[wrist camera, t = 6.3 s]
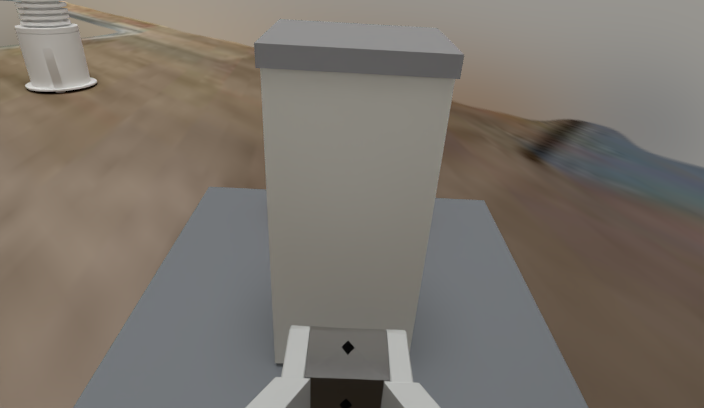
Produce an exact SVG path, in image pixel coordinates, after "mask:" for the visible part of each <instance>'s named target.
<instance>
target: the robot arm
mask: <svg viewBox="0 0 704 408" xmlns="http://www.w3.org/2000/svg"><path fill="white" fill-rule="evenodd" d="M245 408H440V406H439V405H438V404H437V403H436V402H435V401H434V399H433V398H432V397H431V396H430V395H429V394H428V393H427V391H426V390H425V389H424V388H423V387H422V386H421V384H420V383H414V382H413V376H412V369H411V362H410V354H409V347H408V339H407V333H406V331H405V330H388V329H386V330H385V329H358V328H348V329H347V328H332V327H317V326H297V325H291V327H290V330H289V335H288V340H287V346H286V352H285V357H284V363H283V369H282V374H281V377H275V378H274V379H273V380H272V381H271V382H270V383H269V384H268V385H267V386H266V387H265V388H264V389H263V390H262V391H261V392H260V393H259V394H258V395H257V396H256V397H255V398H254V399H253V400H252V401H251V402H250V403H249V404H248V405H247V406H246V407H245Z"/></svg>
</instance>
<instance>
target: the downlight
mask: <svg viewBox="0 0 704 408" xmlns="http://www.w3.org/2000/svg"><path fill="white" fill-rule="evenodd" d="M16 1H22V2H16V3H15V6H17V7H23V8H18V9H16V10H17V12H18V13H25V14H20V15H18V17H19V19H26V20H21V21H20V24H21V25H16V26H14V27H15V30H16V34H17V37H18V40H19V44H20V47H21V51H22V54H23V57H24V61H25V64H26V67H27V71H28V74H29V77H30V81H31V82H29V83H27V84H26V85H25V86H26V88H27V89H29V90H33V91H44V92H53V91H56V93H64V92H65V91H68V90H76V89H81V88H86V87H90V86H92V85H95V84H96V83H97V80H96V79H94V78H91V77H90V75H89V71H88V67H87V63H86V58H85V54H84V50H83V46H82V41H81V37H80V33H79V29H78V25H77V24H72V23H71V22H70V20H68V19H66V18H69V14H65V12H68V9H67V8H60V7H64V6H67V5H66V3H65V2H59V1H63V0H16Z"/></svg>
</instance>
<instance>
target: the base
mask: <svg viewBox="0 0 704 408" xmlns="http://www.w3.org/2000/svg"><path fill="white" fill-rule="evenodd" d="M409 354H410V362H411V369H412V376H413V382H414V383H420V384H421V386H422V387H423V388H424V389H425V390H426V391H427V393H428V394H429V395H430V396H431V397H432V398H433V399H434V401H435V402H436V403H437V404H438V405H439V406H440V408H588V406H587V404H586V402H585V400H584V398H583V396H582V394H581V392H580V390H579V388H578V386H577V384H576V382H575V380H574V378H573V376H572V374H571V372H570V370H569V368H568V366H567V364H566V362H565V360H564V358H563V356H562V354H561V352H560V350H559V348H558V346H557V344H556V342H555V340H554V338H553V336H552V334H551V333H550V331H549V329H548V327H547V325H546V323H545V321H544V319H543V317H542V315H541V313H540V311H539V309H538V307H537V305H536V303H535V301H534V299H533V297H532V295H531V293H530V291H529V289H528V287H527V285H526V283H525V281H524V279H523V277H522V275H521V273H520V271H519V269H518V267H517V265H516V263H515V261H514V259H513V257H512V255H511V253H510V251H509V249H508V247H507V245H506V243H505V241H504V239H503V237H502V235H501V233H500V231H499V229H498V227H497V225H496V223H495V221H494V219H493V217H492V215H491V213H490V212H489V210H488V208H487V206H486V204H485V202H484V200H464V199H444V198H435V202H434V208H433V214H432V220H431V226H430V232H429V238H428V244H427V250H426V256H425V262H424V268H423V274H422V280H421V286H420V292H419V298H418V304H417V310H416V316H415V322H414V328H413V334H412V340H411V346H410V352H409ZM282 369H283V363H275V351H274V331H273V311H272V291H271V271H270V251H269V231H268V211H267V191H266V190H263V189H243V188H223V187H209V188H208V190H207V191H206V193H205V195H204V196H203V198H202V199H201V201H200V203H199V204H198V206H197V208H196V209H195V211H194V212H193V214H192V216H191V217H190V219H189V221H188V222H187V224H186V225H185V227H184V229H183V230H182V232H181V234H180V235H179V237H178V238H177V240H176V242H175V243H174V245H173V247H172V248H171V250H170V251H169V253H168V255H167V256H166V258H165V260H164V261H163V263H162V264H161V266H160V268H159V269H158V271H157V272H156V274H155V276H154V277H153V279H152V281H151V282H150V284H149V285H148V287H147V289H146V290H145V292H144V294H143V295H142V297H141V298H140V300H139V302H138V303H137V305H136V307H135V308H134V310H133V311H132V313H131V315H130V316H129V318H128V320H127V321H126V323H125V324H124V326H123V328H122V329H121V331H120V333H119V334H118V336H117V337H116V339H115V341H114V342H113V344H112V346H111V347H110V349H109V350H108V352H107V354H106V355H105V357H104V359H103V360H102V362H101V363H100V365H99V367H98V368H97V370H96V372H95V373H94V375H93V376H92V378H91V380H90V381H89V383H88V385H87V386H86V388H85V389H84V391H83V393H82V394H81V396H80V398H79V399H78V401H77V402H76V404H75V406H74V407H73V408H245V407H246V406H247V405H248V404H249V403H250V402H251V401H252V400H253V399H254V398H255V397H256V396H257V395H258V394H259V393H260V392H261V391H262V390H263V389H264V388H265V387H266V386H267V385H268V384H269V383H270V382H271V381H272V380H273V379H274V378H275V377H281V374H282Z"/></svg>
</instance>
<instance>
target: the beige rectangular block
mask: <svg viewBox="0 0 704 408" xmlns="http://www.w3.org/2000/svg"><path fill="white" fill-rule="evenodd" d="M254 48H255V66H256V68H260V71H261V91H262V111H263V131H264V151H265V171H266V191H267V211H268V231H269V251H270V271H271V291H272V311H273V331H274V351H275V363H284V357H285V352H286V346H287V340H288V335H289V330H290V327H291V325H297V326H317V327H332V328H347V329H348V328H358V329H385V330H386V329H388V330H405V331H406V333H407V339H408V347H409V352H410V346H411V340H412V334H413V328H414V322H415V316H416V310H417V304H418V298H419V292H420V286H421V280H422V274H423V268H424V262H425V256H426V250H427V244H428V238H429V232H430V226H431V220H432V214H433V208H434V202H435V196H436V190H437V184H438V178H439V172H440V167H441V161H442V155H443V149H444V143H445V137H446V131H447V125H448V119H449V113H450V107H451V101H452V94H453V89H454V82H455V79H460V76H461V70H462V64H463V58H464V54H463V53H462V52H461V51H460V50H459V49H458V48H457V47H456V46H455V45H454V44H453V43H452V42H451V41H450V40H449V39H448V38H447V37H446V36H445V35H444V34H443V33H442V32H441V31H440V30H439V29H438V28H425V27H409V26H390V25H374V24H356V23H338V22H321V21H320V22H319V21H303V20H285V19H279V20H278V21H277V22H276V23H275V24H274V25H273V26H272V27H271V28H270V29H269V30H268V31H266V33H264V34H263V35H262V36H261V37H260V38H259V39H258V40H257V41H256V42H255V43H254Z"/></svg>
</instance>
